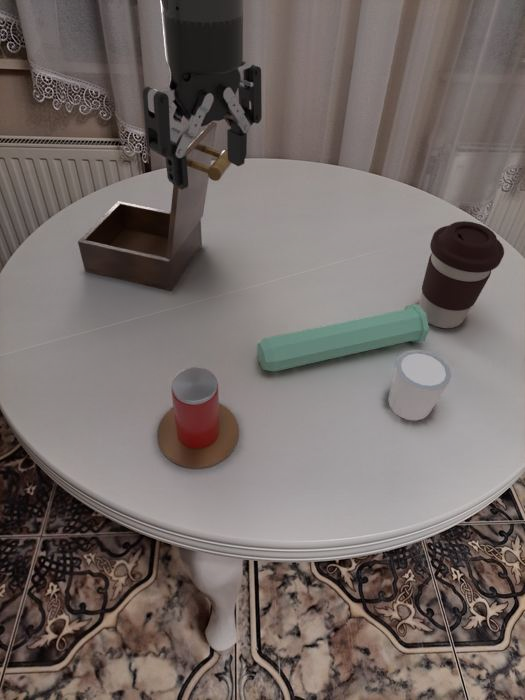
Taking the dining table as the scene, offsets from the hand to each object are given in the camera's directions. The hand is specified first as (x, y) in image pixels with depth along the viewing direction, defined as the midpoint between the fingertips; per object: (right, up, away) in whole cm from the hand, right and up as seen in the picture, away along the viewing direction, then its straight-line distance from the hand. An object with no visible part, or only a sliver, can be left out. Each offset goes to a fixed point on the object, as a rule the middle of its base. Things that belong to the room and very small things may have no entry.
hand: (209, 174), depth 58 cm
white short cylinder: (+26, -28, +10) cm, 39 cm away
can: (-2, -30, +4) cm, 31 cm away
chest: (-14, -4, +30) cm, 33 cm away
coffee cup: (+35, -15, +23) cm, 44 cm away
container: (+17, -20, +16) cm, 31 cm away
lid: (-5, +4, +18) cm, 19 cm away
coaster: (-2, -31, +5) cm, 31 cm away
